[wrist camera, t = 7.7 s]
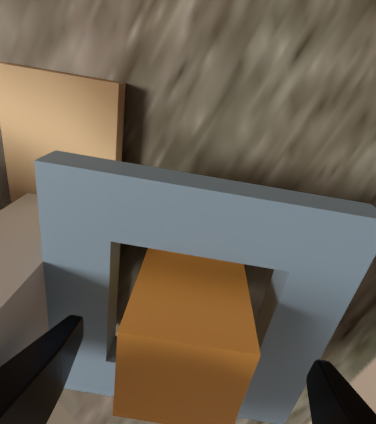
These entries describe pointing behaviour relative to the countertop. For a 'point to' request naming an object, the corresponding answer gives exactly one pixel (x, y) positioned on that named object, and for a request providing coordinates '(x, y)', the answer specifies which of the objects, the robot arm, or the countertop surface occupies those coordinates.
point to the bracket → (185, 244)
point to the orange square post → (185, 342)
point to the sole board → (56, 119)
